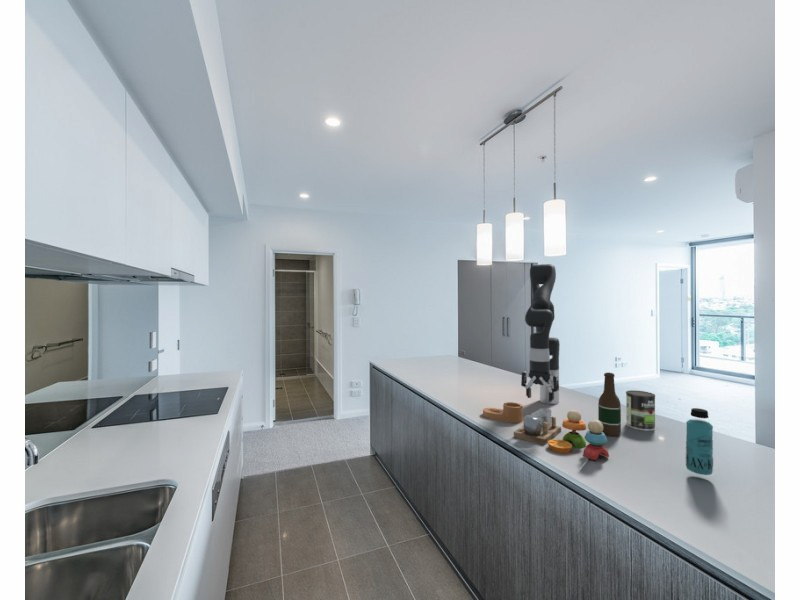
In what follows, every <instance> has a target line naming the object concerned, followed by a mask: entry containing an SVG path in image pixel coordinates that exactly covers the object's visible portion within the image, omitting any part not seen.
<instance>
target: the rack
mask: <svg viewBox="0 0 800 600" xmlns="http://www.w3.org/2000/svg"><path fill="white" fill-rule="evenodd" d="M556 419H557V417H556V416H551V425H550V426H548V423H547V422H543V431H542V432H541V435H540V436H530V435H527V434H525V433H524V425H522V426H521V427H518V429H515V430H514V431H513V438H517V439H520V440H525V441H529V442H533V443H536V444H540V445H543V446H545V445H547V444H548V441H549V440H554V438H555V437H557V435H559V434H560V433H562V426H558V425H557V420H556Z"/></svg>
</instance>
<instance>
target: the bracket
mask: <svg viewBox="0 0 800 600" xmlns="http://www.w3.org/2000/svg"><path fill="white" fill-rule="evenodd" d="M502 406H503V409H501V408H497V407H485V408H483V409H482V416H483V417H484V418H486V419H491V420H497V421H501V422H505V423H506V422H507V423H511V424H520V422H521V423H522V422H524V408H523V407H524V406H523V404H522V403H518V402H513V401H512V402H511V401H508V402H503V405H502Z"/></svg>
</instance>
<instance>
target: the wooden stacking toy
mask: <svg viewBox="0 0 800 600" xmlns="http://www.w3.org/2000/svg"><path fill="white" fill-rule="evenodd" d="M581 419H582V414H581V413H580V411H578V410H576V409H571V410H568V411H567V416H566V418H564V419H563V420H562V426H561V427H563V428H564V429H566V430H569V431H568V432H566V433H565V434H564V435H563V437H562V439H556V438H555V439H554V438H553V439H552V440H549V441H548V443H547V444H548V448H549V450H550V451H552V452H555V453H556V454H557V453H558V454H569V453H571V452H572V449H573V447H574V448H577V449H582V448H584V449H583V451H582V452H583V453H582V454H583V456H584V457H585V458H587V459H589V460H591V461H592V460H593V461H597V460H598V459H599V456H600V455H602V456H603V457H606V458H609V457H610V455H609V454H610V453H609V452H608V450H607V449H606V447H604V446H603V445H605V444H606V443H607V442H608V439H607V435H605V434H604V433H603V432H602V431H603V425H602V423H601V422H600V421H598V419H592V420H589V422H588V423H587V426H586V423H585V421H583V420H581ZM587 428H588V429H587ZM570 430H571V431H570ZM580 431H581V432H582V431H586V433H585V435H584V437H583V435H581V434H580V433H579V432H580ZM570 441H571V443H570ZM586 442H587V443H589V444H587V443H586Z"/></svg>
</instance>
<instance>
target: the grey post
mask: <svg viewBox="0 0 800 600" xmlns="http://www.w3.org/2000/svg"><path fill="white" fill-rule="evenodd" d="M551 417H552V409H549V408H543V407H540V408H538V410H536V411H534V412H532V413H531V414H527V415H523V426H524V433H525V434H527V435H530V436H540V435H541V432H542V431H543V422H547V423H548V426H550V425H552V422H551Z"/></svg>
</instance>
